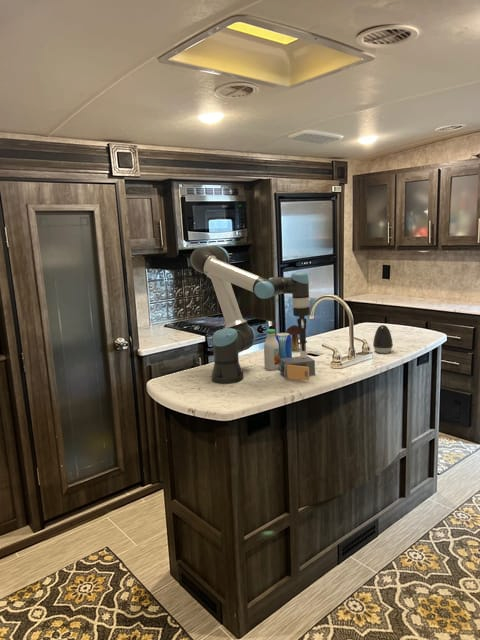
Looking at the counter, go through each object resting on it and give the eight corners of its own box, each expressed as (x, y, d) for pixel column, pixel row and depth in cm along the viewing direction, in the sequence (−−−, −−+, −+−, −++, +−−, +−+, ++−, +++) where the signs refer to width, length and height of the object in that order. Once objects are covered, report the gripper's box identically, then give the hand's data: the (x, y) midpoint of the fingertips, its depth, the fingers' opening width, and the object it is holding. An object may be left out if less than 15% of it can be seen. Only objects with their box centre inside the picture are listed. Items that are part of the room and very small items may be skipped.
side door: (283, 377, 217) (283, 364, 216) (285, 376, 219) (284, 363, 217) (308, 381, 211) (307, 367, 210) (309, 380, 212) (309, 366, 211)
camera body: (284, 378, 219) (283, 362, 217) (277, 372, 228) (277, 357, 227) (315, 374, 222) (314, 358, 221) (307, 369, 232) (306, 354, 230)
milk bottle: (269, 371, 231) (268, 332, 228) (261, 368, 238) (260, 329, 235) (282, 368, 235) (281, 329, 231) (274, 365, 242) (273, 327, 238)
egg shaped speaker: (372, 354, 253) (372, 326, 250) (374, 349, 262) (374, 323, 260) (391, 355, 249) (392, 327, 246) (393, 350, 258) (393, 323, 256)
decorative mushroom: (291, 354, 262) (291, 327, 260) (282, 350, 272) (281, 324, 270) (308, 351, 267) (307, 325, 264) (298, 347, 277) (297, 322, 274)
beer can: (291, 366, 238) (290, 335, 235) (275, 366, 240) (273, 335, 237) (292, 361, 246) (291, 332, 243) (277, 361, 248) (275, 332, 245)
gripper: (310, 308, 204) (312, 360, 208) (308, 304, 217) (310, 353, 221) (293, 309, 205) (295, 361, 209) (292, 305, 218) (294, 354, 222)
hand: (303, 357), depth 215 cm, fingers closed
